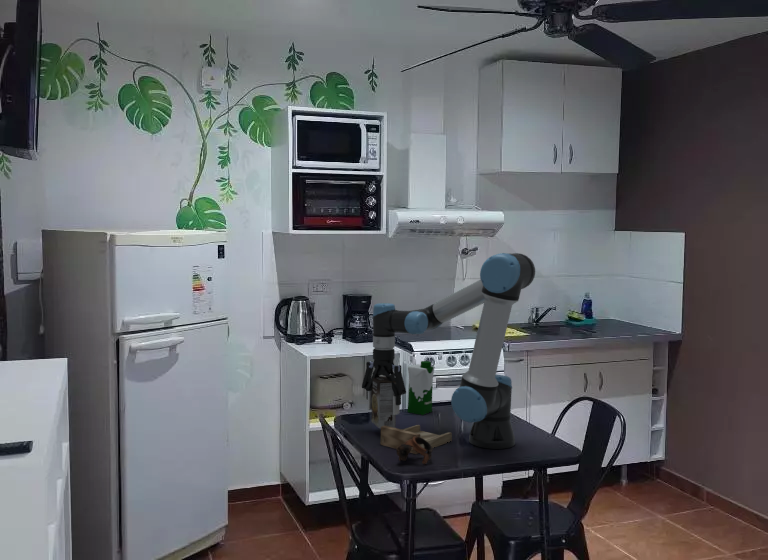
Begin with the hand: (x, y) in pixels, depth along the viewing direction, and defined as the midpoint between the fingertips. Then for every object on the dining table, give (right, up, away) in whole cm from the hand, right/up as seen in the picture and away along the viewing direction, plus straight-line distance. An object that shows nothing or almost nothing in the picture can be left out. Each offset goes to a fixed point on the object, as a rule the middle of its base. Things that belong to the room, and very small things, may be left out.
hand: (383, 411), depth 247 cm
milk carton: (+14, -6, +31) cm, 35 cm away
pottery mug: (+9, -10, -29) cm, 32 cm away
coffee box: (0, -5, 0) cm, 5 cm away
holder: (+10, -8, -11) cm, 17 cm away
